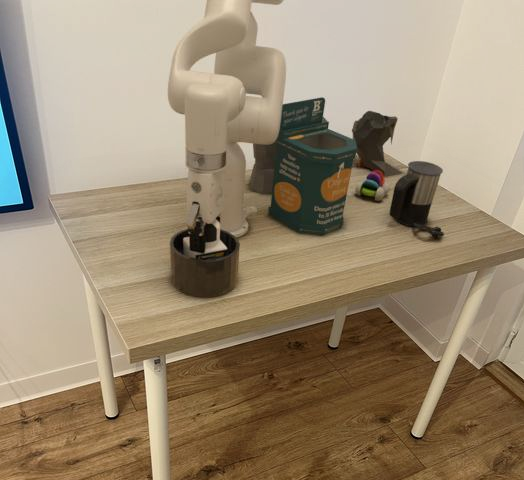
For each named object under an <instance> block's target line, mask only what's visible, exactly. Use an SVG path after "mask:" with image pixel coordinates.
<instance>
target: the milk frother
mask: <svg viewBox="0 0 524 480" xmlns="http://www.w3.org/2000/svg"><path fill="white" fill-rule="evenodd" d="M407 167H408V168H407V171H406V174H404V175H402V176H401V177H400V178H399V179H398V180H397V182H396V183H395V186H394V187H393V194H392V199H391V202H390V208H389V216H390V217H392V218H394V219H395V220H396V222H398V223H400V224H402V225H405V226H409V227H415V228H416V229H418V230H420V231H424V232H425V233H426V232H427V233H428V234H430V235H431V236H432V237H433V238H434V237H435V238H439V237H443V236H444V235H445V232H443V231H442V228H441V227H439V226H434V227H432V226H427V224H428V222H429V221H428V219H429V218H428V217H429V215H430V212H431V211H430V210H431V208H432V204H433V201H434V197H435V195H436V191H437V187H438V185H439V182H440V178H441V176H442V175H441V174H443V173H444V170H443V168H442V167H441V166H440V165H437V164H435V163H433V162H429V161H424V160H413V161H410V162H408V163H407Z"/></svg>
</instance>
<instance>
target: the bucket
mask: <svg viewBox="0 0 524 480" xmlns="http://www.w3.org/2000/svg"><path fill="white" fill-rule="evenodd" d="M185 237H189V231H188V228H185V229H181V230H179V231H177V232H176V233H174V235H173V236H172V237H171V238H170V241H169V259H170V260H169V262H170V279H171V282H172V284H173V285H174V286H175V288H176V289H178V290H180V291H181V292H183V293H186V294H188V295H190V296H194V297H195V296H196V297H204V298H209V297H217V296H220V295H223V294H225V293H228V292H230V291H231V290H232V289H234V288H235V287H236V285H237V284H238V282H239V281H238V279H239V267H240V266H239V265H240V264H239V263H240V249H241V248H240V247H241V243H240V241H239V239H238V237H237V238H236V237H235V236H234V235H233V234H231V233H229V232H227V231H225V230H222V229H220V240H221V241H222V243H223V244H224V245H225V246H226V247H227V256H225V257H223V258H218V259H210V260H204V259H195V258H191V257H188V256H185V255H184V249H183V238H185Z"/></svg>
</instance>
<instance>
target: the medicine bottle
mask: <svg viewBox="0 0 524 480" xmlns="http://www.w3.org/2000/svg"><path fill="white" fill-rule="evenodd" d="M197 219H202V217H201V216H197ZM196 226H198V227H199V229H200V227H201V223H199V222H196ZM204 235H205V252H204V253H198V252H194V251H191V250H190V245H189V237H185V238H183V249H184V255H185V256H188V257H191V258H195V259H204V260H210V259H218V258H223V257H225V256H227V247H226V246H225V245H224V244H223V243H222V241H221V240H220V223H219V222H218V221H217V220H216V219H215V220H214V221H213V222H212V223H210V224H207V223H206V225H205V230H204Z"/></svg>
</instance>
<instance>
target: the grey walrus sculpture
mask: <svg viewBox="0 0 524 480" xmlns="http://www.w3.org/2000/svg"><path fill="white" fill-rule="evenodd" d="M397 122H398V117H397V116H388V115H383V114H381V113H380V112H376V111H373V110H367V111H365V113H364V114H363V115H362V116H361V117H360V118H359V119H357V120H355V121H354V122H353V125H352V128H351V133H352V139H354V140H355V141H356V146H357V152H356V155H357V156H358V163H357V166H358V167H360V168H366V169H369V170H371V171H372V172H373V171H375V170H379V171H381V172H382V174H383V177H384V178H385V177H389V176H394V175H400V174H403V172H402V171H400V170H398V169H397V168H396V167H394V166H393V165H391V164H389V163H388V162H386V161H385V153H384V145H385V144H386V143H387V142H388V141H389V139H390V145H392V143H393V138H394V133H395V128H396V125H397Z"/></svg>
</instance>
